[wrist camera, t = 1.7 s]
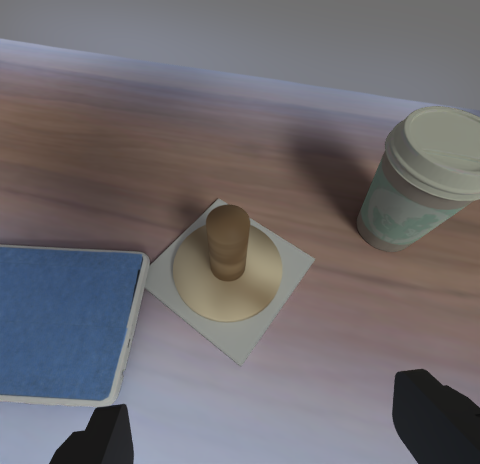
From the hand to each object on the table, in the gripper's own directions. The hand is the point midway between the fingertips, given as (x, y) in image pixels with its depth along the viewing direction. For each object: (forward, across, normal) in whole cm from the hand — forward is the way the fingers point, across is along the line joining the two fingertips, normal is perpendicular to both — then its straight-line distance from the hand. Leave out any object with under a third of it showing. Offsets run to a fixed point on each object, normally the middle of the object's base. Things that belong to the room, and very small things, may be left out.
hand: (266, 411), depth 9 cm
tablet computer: (+18, +17, +5) cm, 25 cm away
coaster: (+20, 0, +3) cm, 20 cm away
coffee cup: (+22, -17, 0) cm, 28 cm away
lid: (+19, 0, +2) cm, 20 cm away
